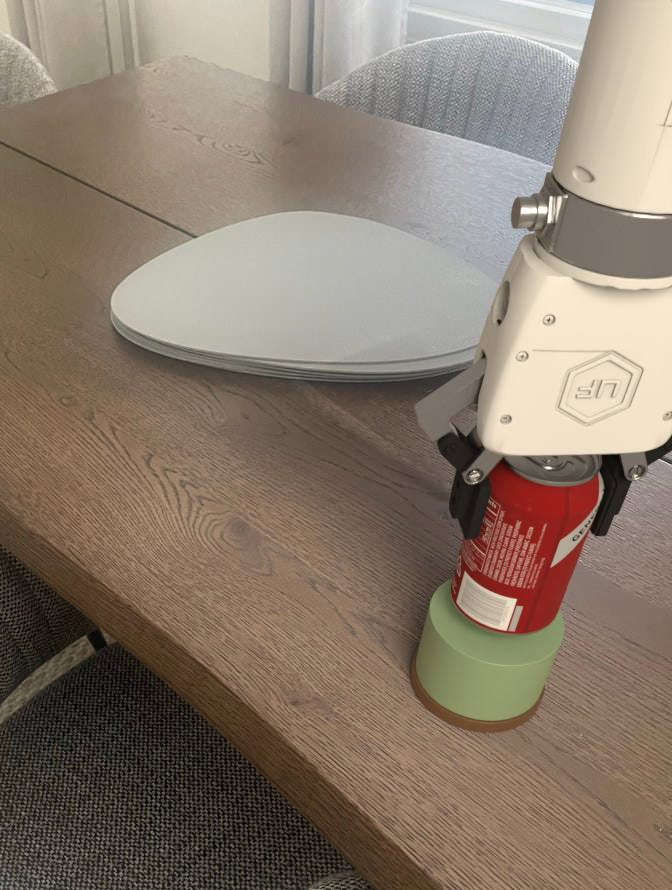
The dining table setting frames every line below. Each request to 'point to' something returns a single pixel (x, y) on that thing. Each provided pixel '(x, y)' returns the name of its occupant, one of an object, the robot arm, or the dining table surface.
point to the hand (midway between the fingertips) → (528, 520)
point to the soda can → (527, 542)
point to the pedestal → (480, 669)
